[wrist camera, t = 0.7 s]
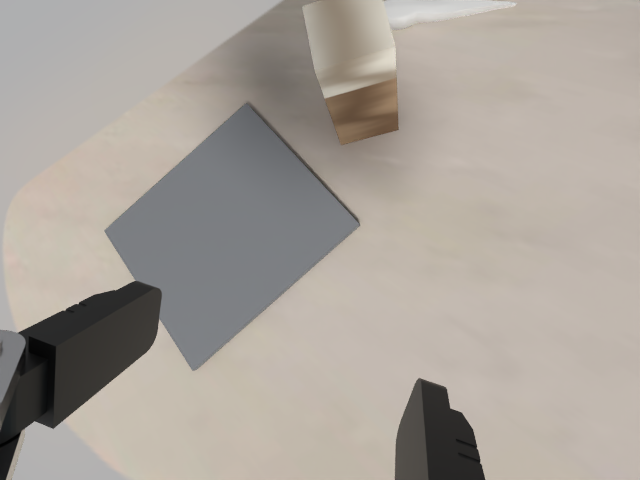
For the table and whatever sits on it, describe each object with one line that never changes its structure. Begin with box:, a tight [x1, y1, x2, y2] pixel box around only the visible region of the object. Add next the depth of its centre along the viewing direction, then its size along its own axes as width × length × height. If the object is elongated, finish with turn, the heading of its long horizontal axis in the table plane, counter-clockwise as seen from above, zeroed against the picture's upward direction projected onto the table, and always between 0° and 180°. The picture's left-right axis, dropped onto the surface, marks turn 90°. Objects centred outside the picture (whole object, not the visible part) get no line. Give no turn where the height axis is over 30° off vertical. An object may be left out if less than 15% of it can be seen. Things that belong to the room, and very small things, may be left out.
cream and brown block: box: [302, 0, 398, 145], centre depth 28 cm, size 5×5×10 cm
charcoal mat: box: [104, 103, 360, 371], centre depth 33 cm, size 18×16×1 cm
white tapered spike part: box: [384, 0, 517, 30], centre depth 33 cm, size 15×3×2 cm, turn 87°
